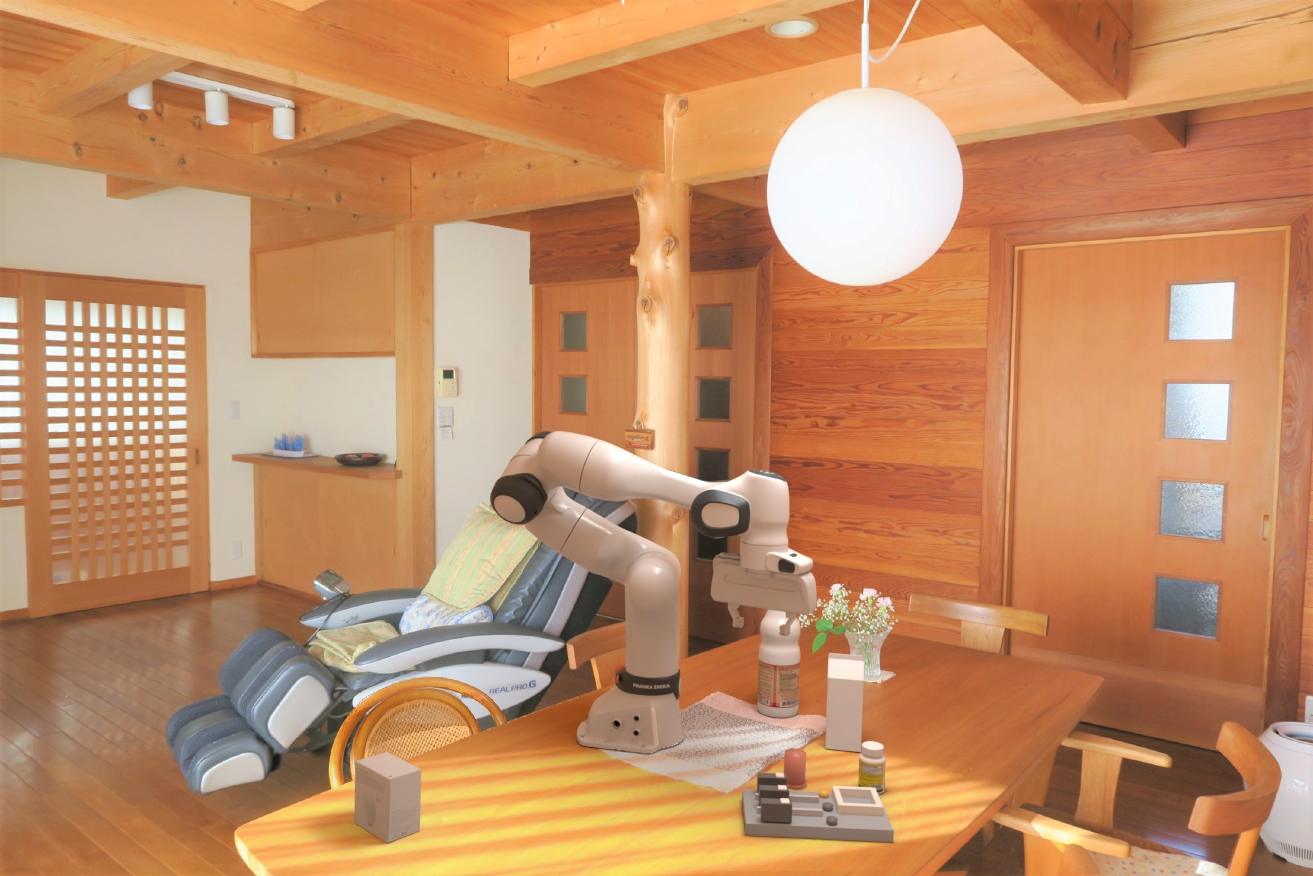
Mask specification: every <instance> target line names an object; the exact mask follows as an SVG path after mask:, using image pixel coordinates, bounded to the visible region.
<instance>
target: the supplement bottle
mask: <svg viewBox="0 0 1313 876" xmlns="http://www.w3.org/2000/svg"><path fill="white" fill-rule="evenodd" d="M884 754H885V746H884V745H883V744H882V743H880V742H878V741H873V740H871V741H870V740H867V741H864V742H861V752H860V754H859V758H858V786H857V787H872V788H875V789H876V791H877V793H878V795H879V796H880V795H881V794H884V792H885V787H886V762H887V761H886V757H885V755H884Z"/></svg>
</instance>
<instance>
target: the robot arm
mask: <svg viewBox="0 0 1313 876" xmlns="http://www.w3.org/2000/svg"><path fill="white" fill-rule="evenodd" d="M564 488H567V489H569V490H572V491H573V492H576V493H578V494H582V495H584V496H587V497H591V498H593V499H596V500H597V499H598V500H603V501H610V502H623V501H629V500H630V501H631V500H637V499H650V500H651V499H652V500H657V501H661V502H664V503H668V504H671V505H674V506H678V507H680V508H684V509H687V510H690V511H689V514H690V515H689V516H690V519H691V522H692V523H691V524H692V525H693V528H695V529H696V531H697V532H699V533H700V534H701V535H703V536H705V537H707V538H711V539H721V538H726V537H728V538H729V537H735V536H738V537H740V543H739V544H740V546H739V547H740V548H739V551H740V552H739V554H737V553H728V552H724V551H723V552H722V551H721V552H720V553H719V554H716V555H715V556H714V558H713V559H712V570H713V574H712V579H711V583H710V584H711V585H710V596H711V598H712V600H713V602H714V601H715V602H719V603H727V611H728V612H729V614H730V617H731V619H732V627H733V628H737V629H742V628H743V627H744V625H745V623H744V622H745V617H743V616H740V612H739V610H738V608H740V606H746V607H751V608H758V609H763V610H764V609H765V610H768V609H769V610H776V611H782V612H786V618H789V619H788V620H787V622H786V624H783V625H781V626H780V629H779V630H780V632H779V634H780V635H782V636H789V635H790V629H791V625H792V623H793V622H794V620H795V619H796V618H797V617H798V615H802V616H808V615H810V614H812V613H813V612H814V611H815V610H816V609H817V605H818V604H817V601H818V600H817V599H818V598H817V597H818V596H817V595H818V594H817V583H816V579H815V576H814V575H813V573H812V572H811V571H812V569H813V566H814V561H813V559H812V558H811V557H808V556H806V555H803V554H802V553H800V552H797V551H795V550H794V549H791V548H790V547H789V537H788V533H787V530H788V528H787V527H788V525H789V523H790V493H789V492H790V491H789V485H788V482H787V480H786V479H785V478H784V477H783V476H782V475H781V474H779V473H776V472H773V471H769V470H766V469H765V470H764V469H757V468H755V469H748V470H747V471H745V472H744V473H743V474H741V475H739V476H738V477H735V478H733V479H721V480H720V479H719V480H704V479H699V478H696V477H692V476H689V475H688V474H687V475H686V474H683V473H680V472H677V471H673V470H670V469H667V468H665V467H661V466H658V465H656V464H654V463H652V462H650V461H648V460H646V459H644V458H642V457H640V456H638V455H636V454H634V453H632V452H630V451H628V450H625V449H624V448H621V447H620V446H617V445H615V444H613V443H610V442H607V441H605V440H602V439H600V438H595V437H593V436H589V435H584V434H581V433H580V434H579V433H575V432H570V431H563V430H555V431H548V430H544V431H540V432H538V433H536V434H533V435H532V436H530V438H529V439H527V440H526V442H524V445H523V446H522V447H521V448H519V450H518V451H517V452H516V453H515V454H514V455H513V456H512V457H511V459H510V460H509V462H508V464H507V465H506V467H505V468H504V470H503V472H502V474H501V475H500V477H499V478H498V479H497V480H496V481H495V482H494V485H493V487H492V488H491V492H490V497H489V501H490V505H491V507H492V509H493V511H494V512H495V513H496V515H497V516H498V517H500V518H501V519H502V520H503V521H505V522H507V523H510V524H514V525H523V526H524V527H525V529H527V531H528V532H529V533H531V534H532V535H533V537H535V538H536V539H537V540H538V541H540V542H541V543H543V545H545V546H547V547H549V548H550V549H552V551H554V552H556V553H557V554H560V556H562V557H564V558H566V559H567V560H569V561H571V562H572V563H574V564H576V565H578V566H579V567H582V568H583V569H584V570H586V571H588V572H589V573H592V574H594V575H598V576H602V577H605V578H607V579H609V580H612V581H613V582H617V583H619V584H621V585H623V586H624V612H625V637H626V638H625V666H624V665H623V664H621V663H620V664H618V665H616V666H615V669H614V674H615V681H614V683H615V685H614V686H613V687H611V688H609V689H608V690H607V691H605V692H604V693H602V694H601V695H600V696H598V698H596V699H595V700H594V702H593V703H592V705H591V707H590V709H589V712H588V715H587V719H584V720H583V721H581V722H580V724H579V725H578V728H577V730H576V735H575V736H576V741H577V743H578V744H579V745H580V746H583V747H590V748H591V747H592V748H599V749H606V750H614V749H617V750H616V751H621V750H626V751H625V752H629V751H630V753H637V752H642V753H641V754H646V753H651V754H653V753H652V752H654V753H656V752H658V751H659V749H660V750H662V749H661V748H663V747H667V748H669V747H668V746H671V747H673V746H672V745H674V744H676V743H679V742H680V741H681V740H682V739H683V740H685V737H684V735H685V732H684V729H683V723H682V719H681V711H680V700H679V699H680V696H681V687H682V684H681V683H682V678H681V677H682V676H681V670H680V669H679V661H680V660H679V658H680V657H679V656H680V587H681V577H682V566H681V563H680V561H679V559H678V558H677V556H676V555H675V554H674V553H673V552H672V551H671V550H669V549H668V548H665V547H663V546H661V545H659V544H657V543H655V542H653V541H652V540H649V539H647V538H645V537H642V535H638V534H636V533H634V532H632V531H630V530H626V529H625V528H622V527H620V526H619V525H617V524H615V523H613V522H611V521H610V520H608V519H606V518H605V517H604V516H602V515H599V514H598V513H597V512H594V511H593V510H591V509H590V508H587V507H586V506H584V505H583V504H581V503H578V502H577V501H575V500H573V499H572V498H570V497H569V496H568V495H567V494H566V492H565V490H564ZM680 743H681V742H680ZM680 743H679V744H680ZM674 746H675V745H674ZM663 749H664V748H663ZM657 750H658V751H657ZM614 751H615V750H614Z"/></svg>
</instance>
